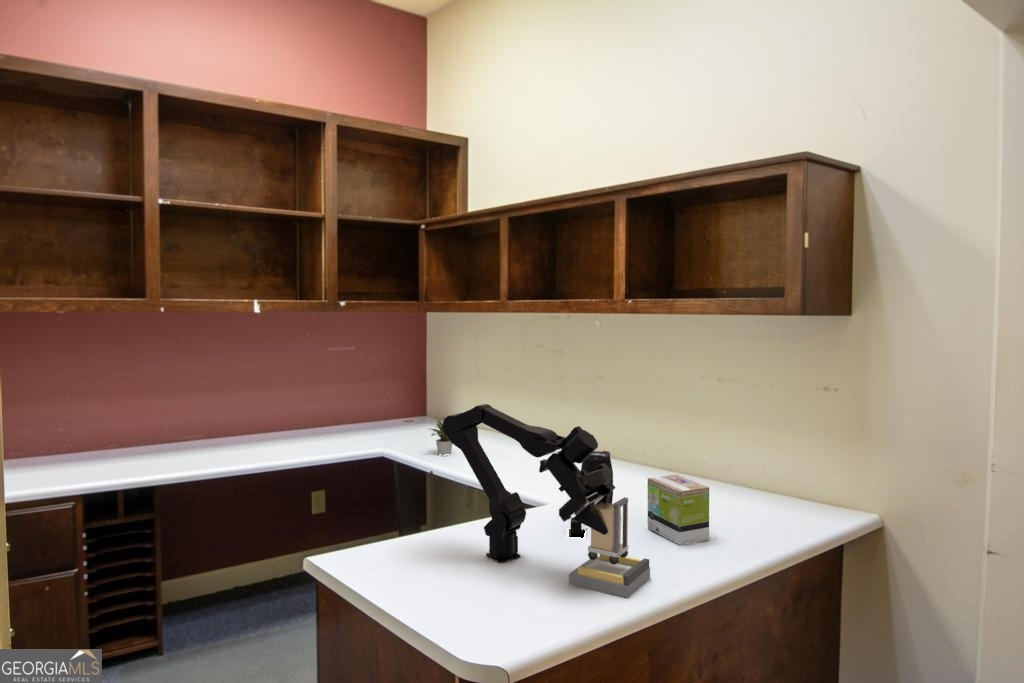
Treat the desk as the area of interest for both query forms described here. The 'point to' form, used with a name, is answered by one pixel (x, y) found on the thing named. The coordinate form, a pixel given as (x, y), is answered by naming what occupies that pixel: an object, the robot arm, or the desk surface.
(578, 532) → the build plate
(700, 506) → the tea box
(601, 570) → the dock
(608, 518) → the trolley
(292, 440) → the desk surface
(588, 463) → the portable speaker
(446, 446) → the house plant
